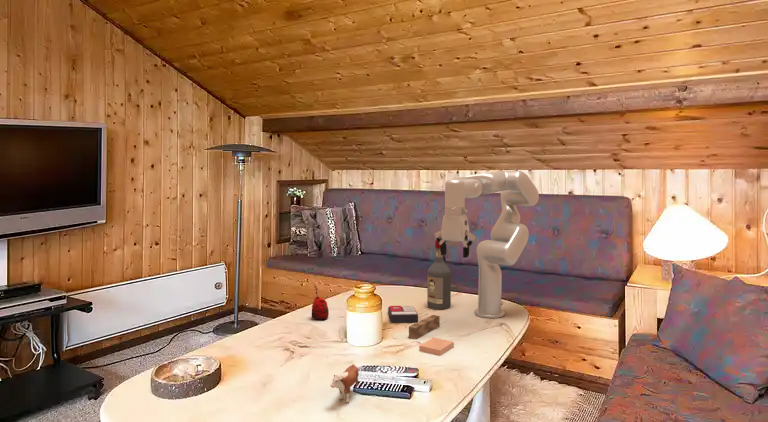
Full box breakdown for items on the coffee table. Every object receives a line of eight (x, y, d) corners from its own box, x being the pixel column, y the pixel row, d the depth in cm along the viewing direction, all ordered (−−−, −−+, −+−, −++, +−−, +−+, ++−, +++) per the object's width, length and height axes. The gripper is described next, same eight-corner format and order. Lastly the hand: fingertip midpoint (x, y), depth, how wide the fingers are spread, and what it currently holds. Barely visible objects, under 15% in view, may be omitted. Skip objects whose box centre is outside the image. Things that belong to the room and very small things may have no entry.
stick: (432, 325, 203) (432, 314, 203) (439, 327, 202) (439, 316, 201) (408, 338, 189) (408, 326, 188) (415, 339, 187) (415, 327, 187)
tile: (433, 337, 183) (419, 345, 175) (453, 341, 179) (440, 350, 170) (433, 343, 183) (419, 352, 175) (453, 348, 179) (440, 357, 171)
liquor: (437, 303, 236) (438, 238, 233) (453, 307, 229) (454, 240, 227) (424, 306, 230) (424, 240, 227) (439, 311, 223) (440, 242, 220)
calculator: (413, 304, 221) (418, 312, 206) (413, 314, 222) (418, 323, 207) (388, 305, 221) (391, 313, 206) (388, 314, 221) (391, 323, 206)
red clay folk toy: (331, 319, 211) (331, 283, 210) (316, 322, 207) (315, 285, 206) (323, 315, 217) (322, 280, 216) (308, 317, 213) (307, 282, 212)
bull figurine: (327, 406, 134) (327, 376, 134) (349, 386, 147) (349, 358, 146) (343, 409, 133) (342, 379, 132) (363, 388, 145) (363, 360, 145)
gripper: (479, 212, 195) (479, 256, 197) (440, 210, 205) (440, 252, 207) (470, 214, 189) (470, 259, 191) (430, 211, 199) (430, 255, 201)
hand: (454, 255), depth 199 cm, fingers open, 9 cm apart
